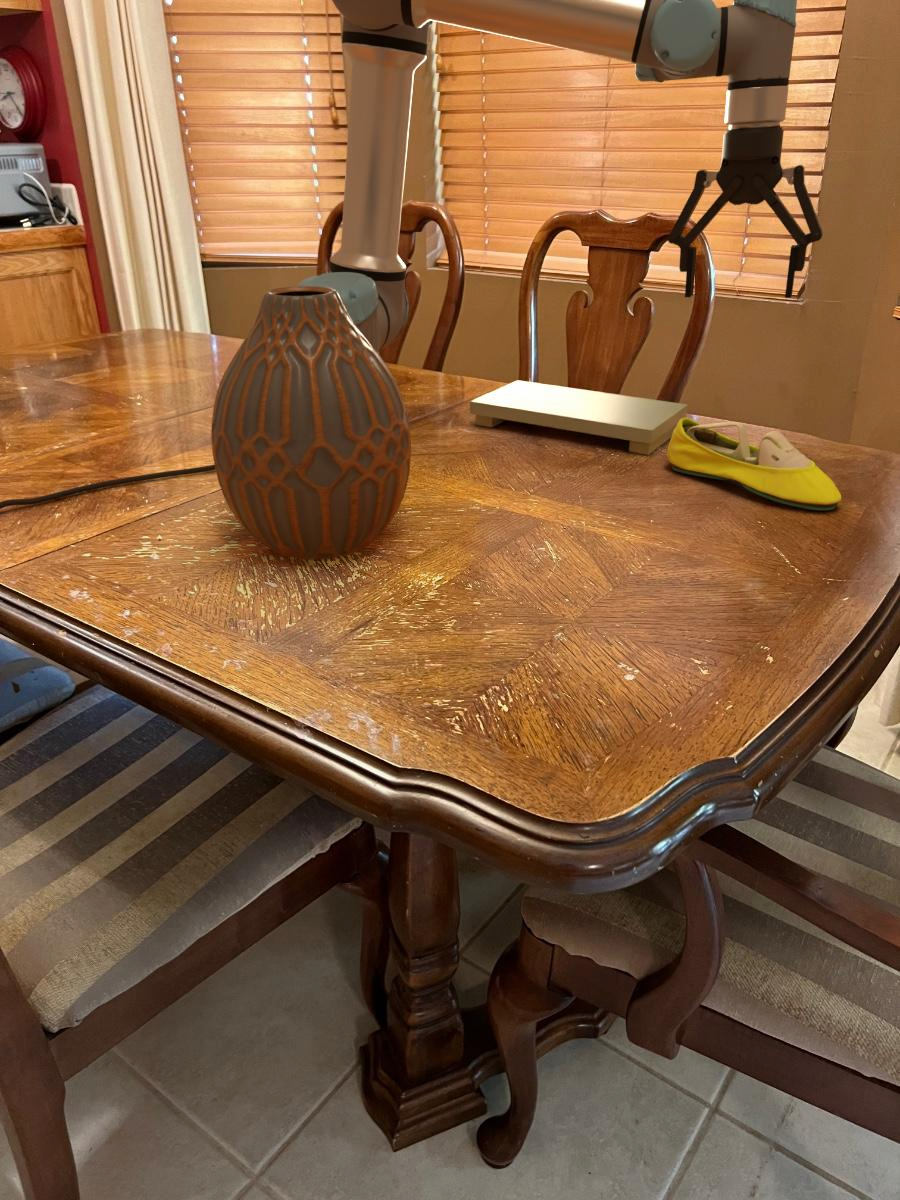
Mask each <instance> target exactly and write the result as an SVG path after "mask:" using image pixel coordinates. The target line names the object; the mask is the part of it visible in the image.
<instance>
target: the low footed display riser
mask: <svg viewBox="0 0 900 1200" xmlns="http://www.w3.org/2000/svg"><path fill="white" fill-rule="evenodd" d="M688 409H689V404H686V403H680V402H672V401H666V400H660V399H659V400H658V399H651V398H645V397H638V396H630V395H625V394H617V393H609V392H604V391H603V392H602V391H594V390H588V389H582V388H574V387H567V386H562V385H561V386H560V385H555V384H554V385H553V384H546V383H539V382H532V381H527V380H526V381H525V380H518V379H517V380H515V381H513V382H510V383H508V384H506V385H503V386H501V387H499V388H497V389H495V390H492V391H490V392H488V393H485V394H483V395H481V396H479V397H475V398H474V399H472V400H470V401H469V414H470V415H475V425H476V426H479V427H480V426H481V427H486V428H494V427H496V426H498V425H500V424H501V423H504V422H506V421H512V422H517V423H523V424H528V425H535V426H541V427H548V428H553V429H559V430H566V431H571V432H576V433H577V432H578V433H583V434H587V435H588V434H589V435H595V436H600V437H601V436H602V437H607V438H612V439H618V440H625V441H629V446H628V453H635V454H640V455H646V456H650V455H651V453H653V452H654V451H656V449H658V448H659V447H661V446H662V445H664V443H666V442H667V441H668V440H671V437H672V434H673V431H674V429H675V428H676V426H677V424H678V422H679V421H680V420H681V419H682V418H688Z"/></svg>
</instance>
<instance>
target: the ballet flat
mask: <svg viewBox="0 0 900 1200" xmlns="http://www.w3.org/2000/svg"><path fill="white" fill-rule="evenodd" d="M728 427H737V428H738V440H736V439H734V438H731V437H728V436H726V435H724V434H722V433H719V432H717V431H716V430H714V429H717V428H718V429H719V428H728ZM669 440H670V441H669V444H668V447H667V452H666V456H667V460H668V462H669V464H670V466H671V470H673V471H675V472H678V473H681V474H686V475H691V476H695V477H702V478H708V479H714V480H721V481H737V482H738V483H741V486H742V487H743V488H744V489H745V490H747V491H750V492H751V493H754V494H756V495H757V496H759V497H762V498H765V499H768V500H771V501H773V502H776V503H780V504H783V505H787V506H791V507H796V508H801V509H806V510H811V511H819V512H820V511H822V512H824V511H827V512H828V511H832V510H834V509H835V508H836V507H837V505H838V504H839V503H840V502H841V501H842V493H841V492H840V491H839V489H838V488H837V485H836V484H835V482H834V481H833V480H832V479H831V478H830V477H829V476H828V475H827V474H826V473H824V471H823V470H821V469H820V467H818V466H817V465H816V463H815V462H814V461H813V460H811V459H809V458H808V457H807V456H806V455H805V454H804V453H802V452H801V451H799V450H798V448H797V447H796V448H795V446H794V445H793V444H792V443H791V442H790V441H789V440H788V439H787V437H785V436H784V435H783V433H781V432H780V431H778V430H771V431H769V432H767V433H766V434H765V435H763V437H761V440H760V443H759V447H758V446H756V445H751V444H749V440H748V433H747V428H746V425H745V424H744V423H742V422H739V421H738V422H737V421H722V422H721V421H720V422H713V423H704V424H702V423H700V422H699V421H697V420H694V419H692V418H689V417H686V418H682V419H681V420H680V421H679V422H678V424H677V426H676V428H675V429H674V431H673V434H672V437H671V438H670V439H669Z"/></svg>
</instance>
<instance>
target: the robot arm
mask: <svg viewBox="0 0 900 1200" xmlns="http://www.w3.org/2000/svg"><path fill="white" fill-rule="evenodd" d="M331 1H332V3H333V4H334V6H335V8H336V9H337V11H338V12H339V13H340V14H341V15H342V16H343V19H342V32H341V33H342V34H341V35H342V36H341V47H342V48H343V50H344V51H345V53H346V55H347V56H348V58H349V59H350V61H351V72H350V73H351V74H350V75H351V76H350V89H349V91H350V92H349V106H348V107H349V109H348V123H347V124H348V125H347V139H346V141H347V142H346V156H345V157H346V158H345V174H344V190H343V191H344V192H343V207H342V208H343V209H342V222H341V223H342V225H341V239H340V240H341V241H340V247H339V249H338V250H337V251H336V252H334V253H333V254H332V255H331V256H330V257H329V272H325V273H321V274H319V275H312V276H309V277H307V278H304V279H303V280H301V281H300V282H299V283H298V284H297V285H296V286H319V287H328V288H332V289H335V290H336V291H337V292H338V293H339V295H340V297H341V300H342V302H343V304H344V306H345V308H346V311H347V313H348V314H349V316H350V318H351V320H352V321H353V323H354V324H355V326H356V327H357V328H358V329H359V331H360V332H361V333H362V334H363V336H364V337H365V338H366V339H367V340H368V342H369V343H370V344H371V345H372V347H373V348H374V349H375V350H376V352H377V353H378V354H379V355H380V351H382V350H383V349H385V348H387V347H388V346H390V345H391V344H392V343H394V342H395V341H396V340H397V339H398V338H399V336H400V335H401V334H402V332H403V331H404V328H405V326H406V323H407V322H408V321H407V320H408V318H409V317H408V315H409V307H410V306H409V298H408V294H407V292H406V289H405V286H406V277H407V276H406V275H407V266H406V264H405V262H403V260H402V259H401V257H400V256H399V254H398V253H399V245H400V244H399V242H400V231H401V220H402V208H403V197H404V187H405V176H406V163H407V155H408V144H409V143H408V142H409V132H410V131H409V130H410V121H411V109H412V98H413V88H414V77H415V76H414V75H415V71H416V70H417V69H418V68H419V66H421V65H422V64H423V63H424V62H425V61H426V60H427V56H428V47H429V46H428V45H429V37H430V36H429V35H430V28H431V26H432V24H433V22H435V23H440V24H445V25H451V26H455V27H459V28H465V29H468V30H469V29H470V30H475V31H479V32H484V33H488V34H494V35H499V36H504V37H508V38H513V39H518V40H521V41H522V40H523V41H527V42H532V43H537V44H540V45H541V44H542V45H547V46H551V47H555V48H560V49H564V50H565V49H566V50H569V51H570V50H571V51H575V52H580V53H584V54H590V55H593V56H598V57H604V58H608V59H611V60H612V59H613V60H616V61H617V60H618V61H622V62H627V63H631V64H634V76H635V78H636V79H637V81H639V82H643V83H644V82H645V83H646V82H655V83H660V84H661V83H664V82H668V81H679V80H691V79H700V78H710V77H711V78H712V77H717V78H718V77H719V78H720V77H724V76H725V77H726V76H727V81H728V82H727V88H726V89H727V91H726V101H725V112H724V124H725V126H728V130H725V132H723V138H722V148H721V149H722V151H721V161H720V162H721V163H720V167H719V169H718V171H711V170H706V169H699V170H698V171H696V175H695V179H694V184H693V189H692V191H691V193H690V195H689V197H688V199H687V200H686V201H685V204H684V207H683V208H682V210H681V213H680V214H679V216H678V217H677V220H676V222H675V223H674V225H673V227H672V229H671V231H670V233H669V235H668V237H667V242H668V243H669V244H673V245H675V246H677V247H678V248H679V249H680V252H679V266H678V268H679V272H680V273H686V274H685V275H686V276H685V289H684V298H691V297H692V296H693V295H694V291H695V290H694V289H695V288H694V287H695V277H696V276H695V273H696V262H697V261H696V260H697V249H698V248H697V247H698V246H692V244H693V243H694V242H695V240H696V239H697V238H698V237H699V236H700V235H701V234H702V232H703V231H705V229H706V228H707V227H708V225H709V224H710V223H711V222H712V221H713V220H714V218H715V217H716V216H717V215H718V214H719V213H720V212H721V210H722V209H723V208H724V207H725V206H726V205H727V203H728V202H729V203H730V204H732V205H734V206H740V205H744V204H748V205H759V204H761V203H763V202H764V201H765V202H766V204H767V205H768V206H769V207H770V209H771V210H772V211H773V212H774V214H775V215H776V217H777V218H778V220H779V221H780V222H781V224H782V225H783V227H784V228H785V229H786V230H787V232H788V233H789V235H790V236H791V238H792V239H793V240H794V242H795V244H792V245H791V246H790V253H789V260H788V268H787V278H786V283H785V284H786V286H785V293H784V298H785V299H792V296H793V290H794V282H795V275H796V272H803V270H804V268H805V264H806V255H807V248H808V246H809V245H810V244H812V243H815V242H818V241H820V240H821V239H822V237H823V235H824V233H823V230H822V227H821V224H820V221H819V219H818V216H817V213H816V210H815V208H814V204H813V203H812V199H811V197H810V194H809V191H808V190H807V189H808V188H807V186H806V184H805V171H806V169H805V166H804V165H803V164H798V165H796V166H792V167H786V168H783V167H782V164H781V159H782V152H783V139H784V130H785V129H783V127H782V126H781V123H782V122H784V121H786V114H787V103H788V94H789V83H790V76H791V67H792V59H793V52H794V51H793V50H794V41H795V34H796V27H797V22H796V21H797V20H796V19H797V6H798V5H797V4H798V3H797V1H798V0H732V4H730V5H726V6H720V7H717V6H716V3H715V2H714V1H713V0H331ZM782 178H785V179H786V181H787V183H788V185H791V186H793V190H794V193H795V195H796V198H797V200H798V201H797V202H798V203H799V206H800V209H801V212H802V215H803V217H804V220H805V222H806V225H807V229H808V230H809V232H807V233H805V232H804V230H803V229H802V228H801V226H800V225H799V224H798V222H797V221H796V219H795V218H794V216H793V215H792V214H791V212H790V211H789V210H788V208H787V207H786V206H785V204H784V203H783V202H782V200H781V199H780V197H779V195H778V194H777V193H776V191H775V188H776V187H777V186H778V184H779V183H780V182H781V180H782ZM714 181H716V183H717V185H718V186H719V188H720V190H721V191H722V192H721V194H719V196H718V197H717V198H716V199H715V200H714V202H713V203H712V204H711V205H710V206H709V208H708V209H707V210H706V211H705V212H704V214H703V215H702V216H701V217H700V218H699V220H698V221H697V222H696V223H695V224H694V225H693V226H692V228H691V229H690V230H689V231H688V233H687V234H686V235H683V232H684V231H685V228H686V227H687V225H688V223H689V221H690V219H691V217H692V215H693V213H694V211H695V210H696V208H697V206H698V204H699V202H700V200H701V199H702V196H703V194H704V192H705V190H706V189H708V188H710V187H711V186H712V183H713V182H714ZM212 471H216V469H215V464H209V465H205V466H197V467H191V468H183V469H174V470H167V471H160V472H154V473H147V474H141V475H135V476H128V477H127V476H126V477H122V478H116V479H110V480H105V481H101V482H95V483H90V484H86V485H81V486H78V487H73V488H69V489H65V490H61V491H58V492H54V493H50V494H45V495H41V496H38V497H31V498H14V499H5V500H2V501H0V510H2V509H3V508H7V507H11V506H28V505H29V506H30V505H37V504H40V503H45V502H50V501H53V500H57V499H61V498H65V497H69V496H71V495H72V496H73V495H76V494H81V493H84V492H90V491H93V490H98V489H103V488H107V487H113V486H119V485H125V484H131V483H138V482H144V481H149V480H157V479H162V478H170V477H177V476H184V475H186V476H187V475H193V474H200V473H206V472H212ZM11 685H12V689H13V693H14V692H15V693H18V692H19V691H21V687H20V684H18V683H16V682H15V681H11ZM15 693H14V694H15Z"/></svg>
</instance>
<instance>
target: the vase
mask: <svg viewBox="0 0 900 1200" xmlns="http://www.w3.org/2000/svg"><path fill="white" fill-rule="evenodd" d="M257 312H258V313H257V314H256V318H255V319H254V322H253V325H252V326H251V328H250V330H249V332H248V333H247V335H246V336H245V338H244V340H243V341H242V343H241V344H240V346H239V347H238V349H237V351H236V353H235V354H234V356H233V357H232V359H231V360H230V362H229V364H228V365H227V368H226V369H225V371H224V373H223V375H222V377H221V379H220V382H219V385H218V387H217V391H216V395H215V399H214V403H213V409H212V410H213V411H212V416H211V417H212V418H211V428H210V429H211V432H210V440H211V452H212V456H213V463H214V464H213V465H215V469H216V470H215V473H216V477H217V482H218V485H219V486H220V490H221V492H222V495H223V497H224V499H225V501H226V504H227V506H228V507H229V510H230V511H231V513H232V514H233V516H234V517H235V519H236V521H237V522H238V524H239V525H240V526H241V527H242V528H243V529H244V530H245V531H246V532H247V533H248V534H249V535H250V536H251V537H252V538H253V539H254V540H256V541H258V542H259V543H260V544H261V545H263V547H266V548H267V549H269V550H270V551H272V552H273V553H275V554H278V555H280V556H283V557H285V558H290V559H297V560H306V561H308V560H309V561H314V560H315V561H319V560H329V559H336V558H342V557H345V556H349V555H353V554H355V553H357V552H359V551H362V550H363V549H365V548H367V547H368V546H369V545H370V544H372V543H373V542H374V541H375V540H376V539H377V538H378V537H379V536H380V535H381V534H382V533H383V532H384V531H385V530H386V528H387V527H389V525H390V524H391V522H392V521H393V519H394V518H395V517H396V515H397V513H398V510H399V508H400V506H401V504H402V501H403V500H404V496H405V493H406V490H407V487H408V483H409V482H408V481H409V476H410V471H411V459H412V443H411V442H412V439H411V426H410V421H409V415H408V412H407V408H406V405H405V401H404V399H403V395H402V392H401V389H400V387H399V385H398V382H397V381H396V378H395V376H394V373H392V371H391V369H390V368H389V366H388V364H387V363H386V362H385V361H384V360H383V358H382V357H381V355H380V353H379V354H378V353H377V352H376V350H375V349H374V348H373V347H372V345H371V344H370V343H369V342H368V340H367V339H366V338H365V337H364V336H363V334H362V333H361V332H360V331H359V329H358V328H357V327H356V326H355V324H354V323H353V321H352V320H351V318H350V316H349V314H348V313H347V311H346V308H345V306H344V304H343V302H342V300H341V297H340V295H339V293H338V292H337V291H336V290H335V289H332V288H328V287H319V286H297V285H296V286H294V285H293V286H292V285H291V286H284V287H283V286H282V287H276V288H271V289H268V290H266V291H265V292H264V293H263V296H262V299H261V302H260V306H259V308H258V311H257Z"/></svg>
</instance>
